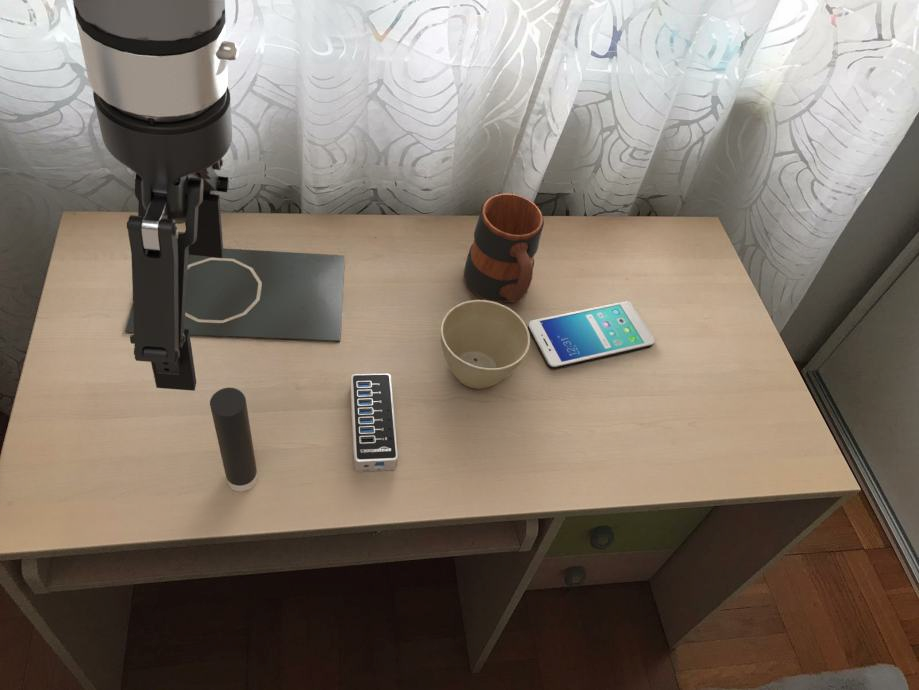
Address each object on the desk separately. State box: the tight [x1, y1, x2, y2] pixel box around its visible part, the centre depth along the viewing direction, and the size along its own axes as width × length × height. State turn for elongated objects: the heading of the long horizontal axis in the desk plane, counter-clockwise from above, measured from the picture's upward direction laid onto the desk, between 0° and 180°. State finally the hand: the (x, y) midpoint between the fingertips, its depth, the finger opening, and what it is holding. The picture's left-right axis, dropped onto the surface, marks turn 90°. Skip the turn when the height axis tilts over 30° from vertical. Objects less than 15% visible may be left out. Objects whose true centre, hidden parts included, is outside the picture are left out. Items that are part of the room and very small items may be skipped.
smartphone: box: [527, 300, 655, 370], centre depth 93 cm, size 7×1×15 cm
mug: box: [463, 193, 545, 304], centre depth 92 cm, size 9×12×12 cm
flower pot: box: [440, 299, 531, 390], centre depth 85 cm, size 10×10×7 cm
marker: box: [209, 387, 259, 492], centre depth 70 cm, size 3×3×14 cm
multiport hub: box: [349, 373, 399, 473], centre depth 80 cm, size 4×11×2 cm, turn 7°
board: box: [124, 247, 346, 343], centre depth 90 cm, size 24×14×1 cm, turn 93°
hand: (192, 315), depth 60 cm, fingers open, 13 cm apart
